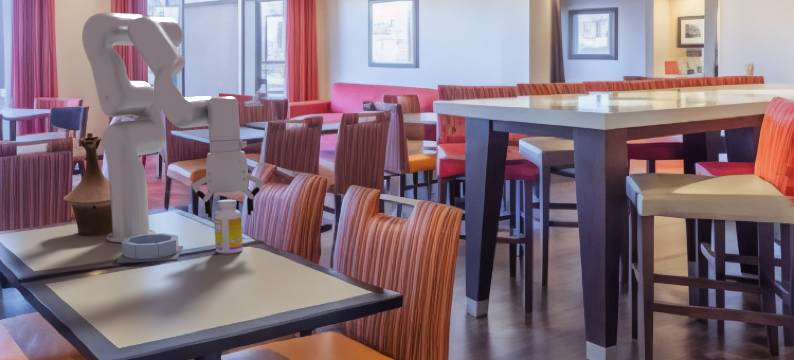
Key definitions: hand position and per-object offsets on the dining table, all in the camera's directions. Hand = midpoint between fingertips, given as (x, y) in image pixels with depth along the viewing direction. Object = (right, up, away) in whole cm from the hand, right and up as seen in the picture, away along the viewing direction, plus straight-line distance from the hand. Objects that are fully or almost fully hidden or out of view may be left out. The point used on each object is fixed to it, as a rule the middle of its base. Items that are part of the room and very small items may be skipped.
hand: (229, 215), depth 205 cm
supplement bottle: (0, -9, +2) cm, 9 cm away
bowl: (-19, -9, -1) cm, 21 cm away
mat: (-19, -10, -1) cm, 22 cm away
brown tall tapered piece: (-42, -6, +27) cm, 51 cm away
